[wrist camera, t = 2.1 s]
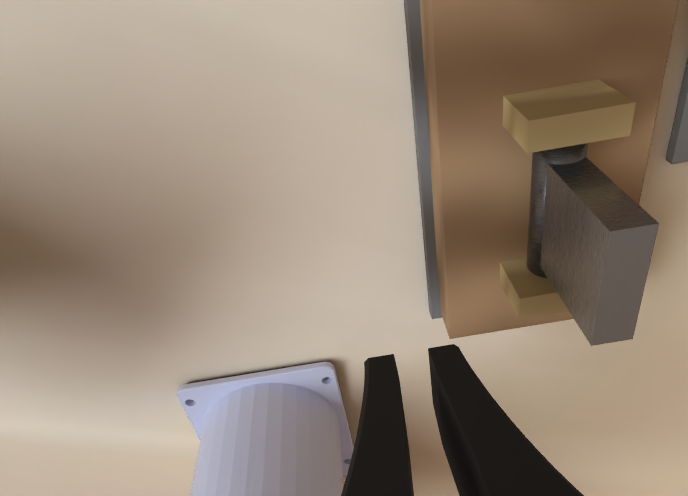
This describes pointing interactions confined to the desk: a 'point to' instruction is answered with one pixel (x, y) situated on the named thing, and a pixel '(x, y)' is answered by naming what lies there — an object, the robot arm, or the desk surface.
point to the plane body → (520, 133)
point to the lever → (588, 242)
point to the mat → (680, 127)
